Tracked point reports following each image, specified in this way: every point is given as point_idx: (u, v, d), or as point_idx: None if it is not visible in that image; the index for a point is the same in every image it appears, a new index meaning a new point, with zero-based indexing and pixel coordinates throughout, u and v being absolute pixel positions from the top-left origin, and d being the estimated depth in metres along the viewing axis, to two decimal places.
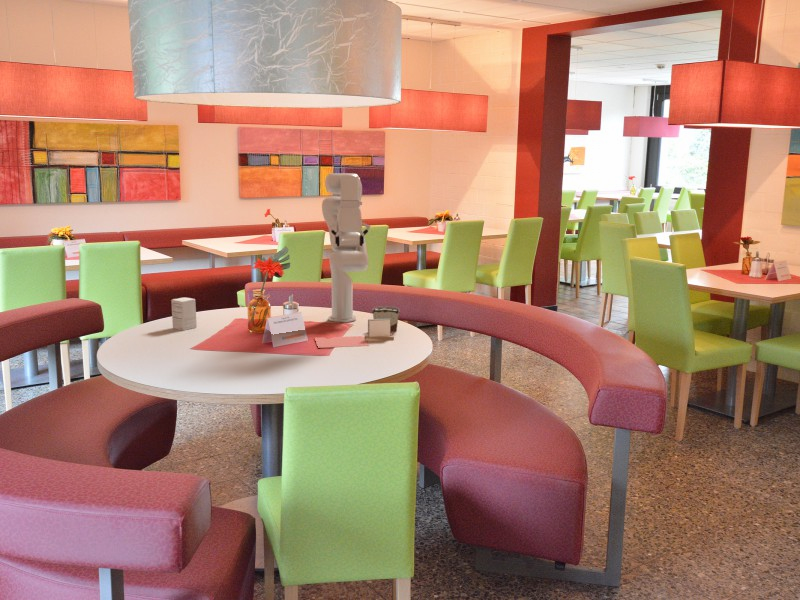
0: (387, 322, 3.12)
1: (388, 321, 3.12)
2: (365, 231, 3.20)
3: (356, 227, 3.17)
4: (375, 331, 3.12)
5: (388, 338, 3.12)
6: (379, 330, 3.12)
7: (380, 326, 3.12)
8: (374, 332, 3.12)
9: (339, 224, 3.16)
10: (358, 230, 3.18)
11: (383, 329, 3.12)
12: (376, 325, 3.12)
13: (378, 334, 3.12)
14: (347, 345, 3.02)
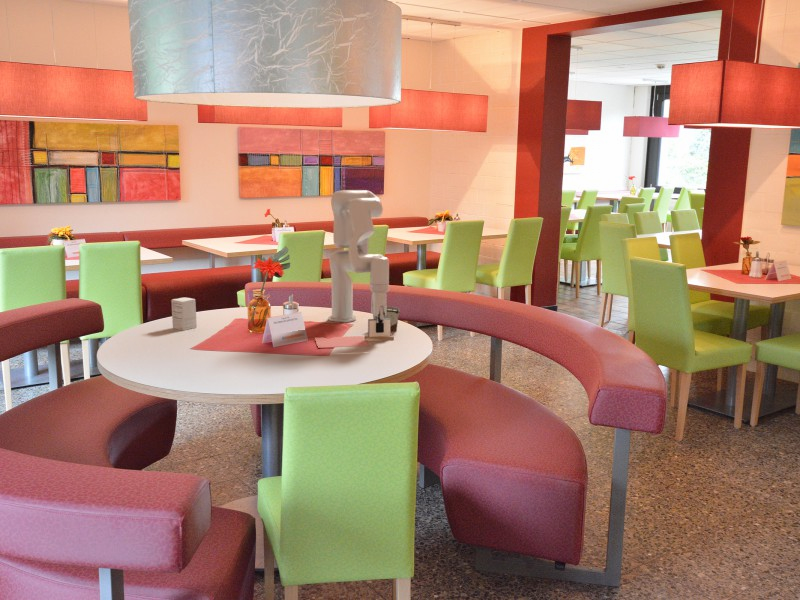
0: (387, 321, 3.12)
1: (388, 321, 3.12)
2: None
3: None
4: (375, 331, 3.12)
5: (388, 338, 3.12)
6: None
7: None
8: (374, 332, 3.12)
9: (386, 308, 3.08)
10: None
11: None
12: None
13: (378, 334, 3.12)
14: (347, 345, 3.02)
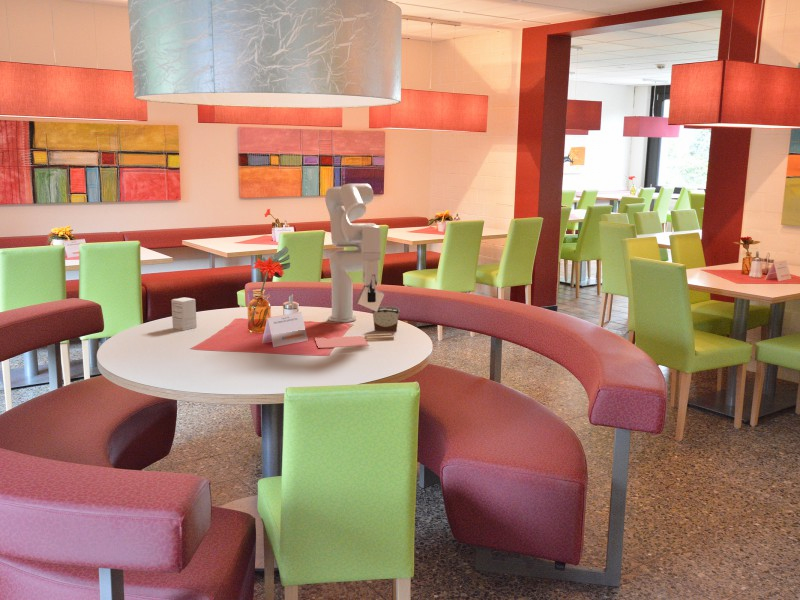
0: (380, 295, 3.10)
1: (382, 295, 3.10)
2: None
3: None
4: (366, 299, 3.09)
5: (388, 338, 3.12)
6: None
7: None
8: (365, 299, 3.09)
9: None
10: None
11: None
12: None
13: (367, 303, 3.09)
14: (347, 345, 3.02)
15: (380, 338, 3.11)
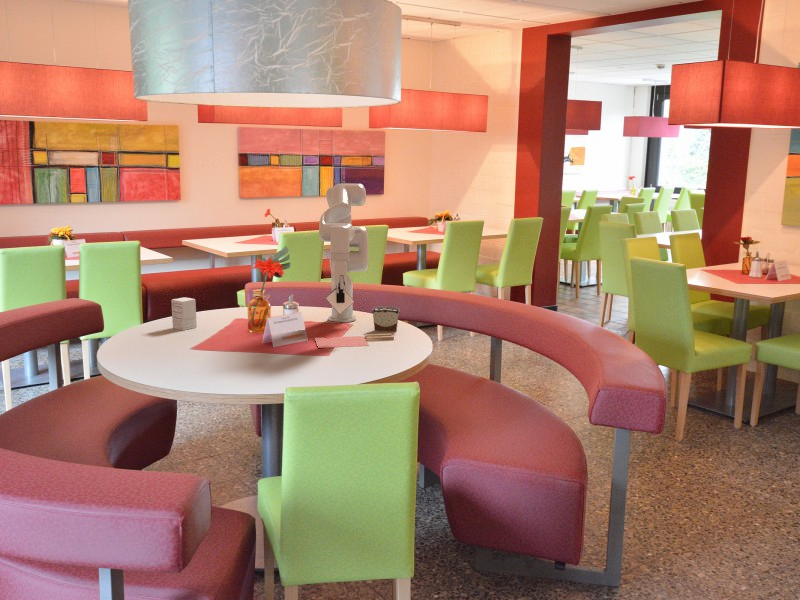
0: (350, 300, 3.08)
1: (351, 301, 3.08)
2: None
3: None
4: (335, 297, 3.06)
5: (388, 338, 3.12)
6: None
7: None
8: (334, 297, 3.06)
9: (346, 278, 3.02)
10: None
11: None
12: None
13: (335, 302, 3.06)
14: (347, 345, 3.02)
15: (380, 338, 3.11)
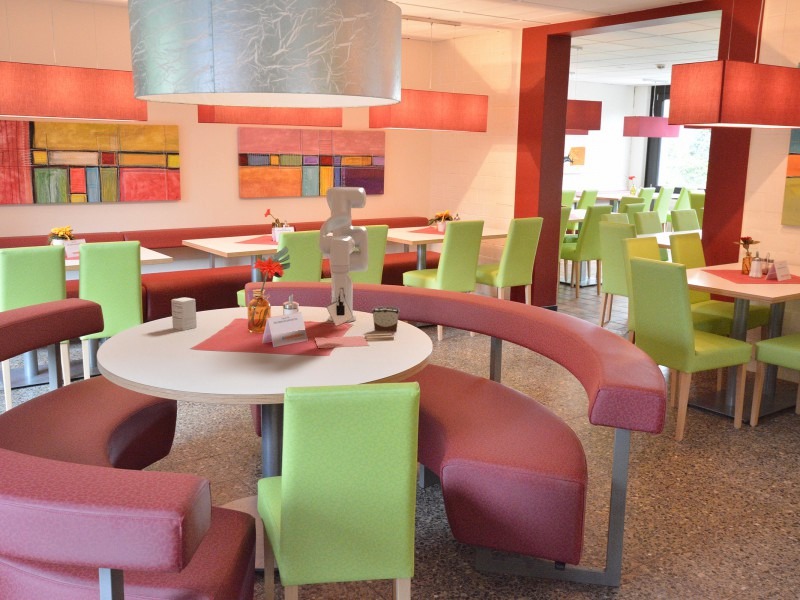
0: (349, 315, 3.08)
1: (351, 316, 3.08)
2: None
3: None
4: None
5: (388, 338, 3.12)
6: None
7: None
8: (335, 308, 3.07)
9: (346, 290, 3.03)
10: None
11: (341, 315, 3.08)
12: None
13: (334, 313, 3.07)
14: (347, 345, 3.02)
15: (380, 338, 3.11)
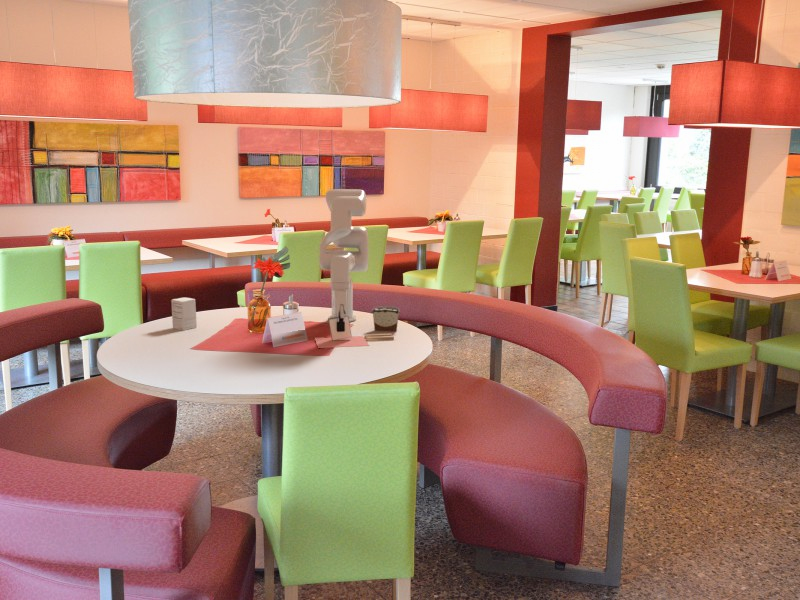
0: (348, 334, 3.10)
1: (349, 335, 3.10)
2: None
3: None
4: None
5: (388, 338, 3.12)
6: None
7: None
8: (336, 323, 3.08)
9: (346, 307, 3.04)
10: None
11: (340, 332, 3.09)
12: None
13: (335, 328, 3.08)
14: (347, 345, 3.02)
15: (380, 338, 3.11)
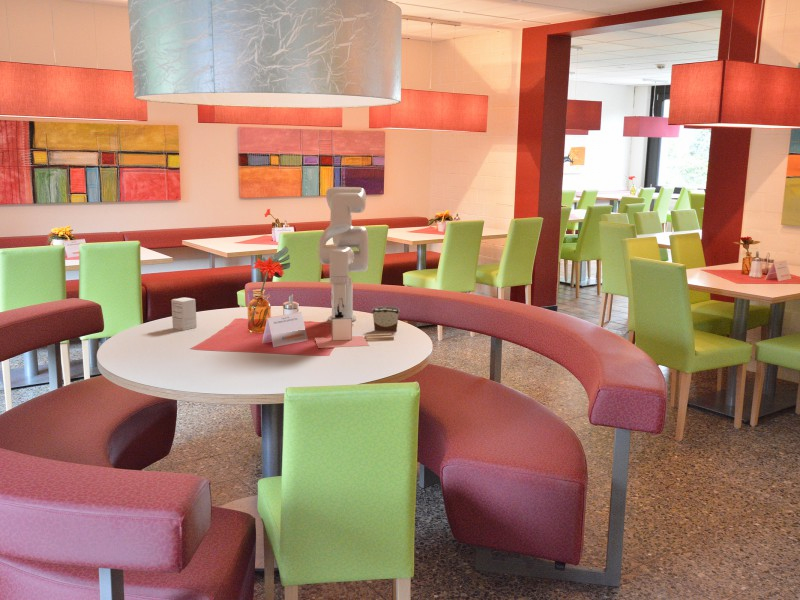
0: (349, 336, 3.10)
1: (350, 338, 3.10)
2: None
3: None
4: (340, 325, 3.08)
5: (388, 338, 3.12)
6: (341, 329, 3.09)
7: (345, 330, 3.09)
8: (339, 324, 3.08)
9: (345, 301, 3.07)
10: None
11: (342, 333, 3.09)
12: (346, 326, 3.09)
13: (337, 328, 3.08)
14: (347, 345, 3.02)
15: (380, 338, 3.11)
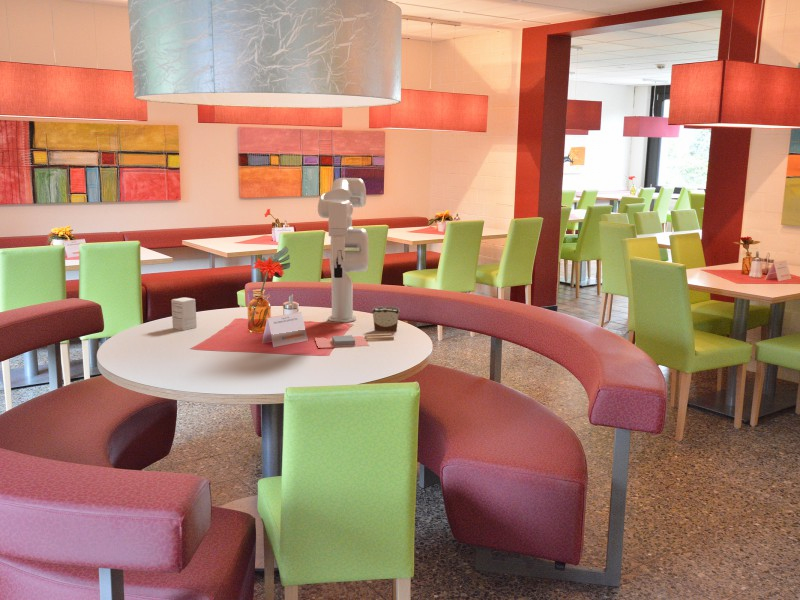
0: None
1: None
2: None
3: None
4: None
5: (388, 338, 3.12)
6: None
7: None
8: None
9: (344, 253, 3.06)
10: None
11: None
12: None
13: None
14: None
15: (380, 338, 3.11)
